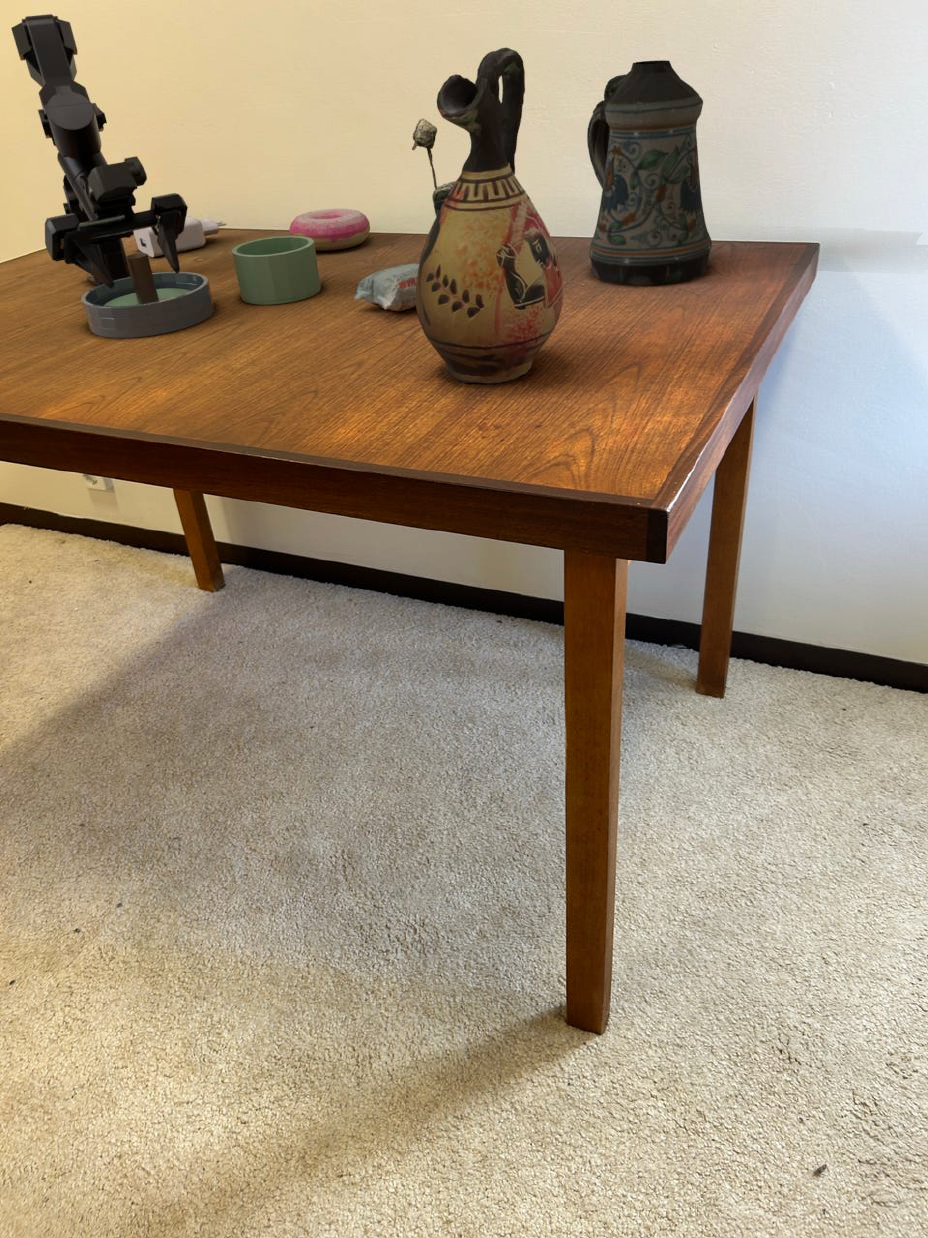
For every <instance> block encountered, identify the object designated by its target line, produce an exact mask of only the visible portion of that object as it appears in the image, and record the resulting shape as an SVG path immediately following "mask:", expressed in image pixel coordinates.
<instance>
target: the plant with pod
mask: <svg viewBox="0 0 928 1238" xmlns="http://www.w3.org/2000/svg"><path fill="white" fill-rule="evenodd" d="M437 133H438V128H437V126H435V125H433V124H432V122H430V121H429V120H427V119H425V118H420V119H418V122H417V123H416V126H415V129H414V131H413V133H412V140H413V141H414V142H413V146H412V148H411V150H412V151H415V150H416V149H417V147H419V148H424V149H426V151H427V156H428V160H429V165H430V167H431V172H432V179H433V185H434V190H433V192H432V195H431V197H432V202H433V208H434V214H435V218H436V217H437V215H438V213H439V211H440V208H441V206H442V205H443V203H444V201H445V199H446V198H447V196H448V194H449V192H450V190H451V188H452V187H453V185H454V184H455V182H456V180H454V181H450V182H447V183H443V184H441V185H440V186H438V185H437V177H436V171H435V168H434V164H433V153H432V149H434V146H435V142H436V137H437Z"/></svg>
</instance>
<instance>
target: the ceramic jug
mask: <svg viewBox="0 0 928 1238" xmlns="http://www.w3.org/2000/svg"><path fill="white" fill-rule="evenodd" d="M478 65H479V66H478V67H477V70H476V71H477V74H476V79H475V82H473V81H471V79H469V78H468V77H463V76H462V75H461V74H457V73H456V74H452V75H450V76H449V77H448V78H447V80H445V81H444V82H443V83H442V86H441V87H440V89H439V91H438V93H437V97H436V106H437V111H438V112H439V114H440V116H441V118H442V119H444V120H446V121H447V122H449V123H451V124H453V125H455V126H457V127H459V128H461V129H463V130H465V131H466V132H467V133H468V134H469V139H470V150H469V154H468V156H467V158H466V160H464V162H463V165H462V167H461V173H460V175H459V176H458V177H457V179H456V180H455V181H456V182H455V184H454V185H453V187H452V188H451V190H450V192H449V194H448V196H447V198H446V199H445V201H444V203H443V205H442V206H441V208H440V211H439V213H438V215H437V217H436V216H435V219H434V221H433V223H432V225H431V228H430V230H429V231H428V234H427V236H426V239H425V242H424V245H423V248H422V250H421V253H420V256H419V257H420V258H419V262H418V264H419V268H418V274H417V281H416V295H415V301H416V307H415V309H416V314H417V319H418V321H419V324H420V326H421V329H422V331H423V334H424V335H425V337H426V339H427V340H428V342H429V343H430V345H431V346H432V348H433V349H434V350H435V351H436V353H437V354H438V355H439V357H441V358H442V360H443V362H444V363H445V364H446V365H447V367H446V369H445V371H446V373H447V374H448V375H449V376H450V377H451V378H452V379H453V380H455V381H458V382H461V383H463V384H471V383H477V384H497V383H498V384H499V383H504V382H509V381H513V380H516V379H517V378H519V377H521V376H523V375H526V374H527V373H528V372H529V370H530V369H531V368H532V365H533V361H534V359H535V357H536V356H537V355H538V353H539V351H540V349H542V347H543V346H544V345H545V344H546V342H547V341H548V340H549V338H550V336H551V335H552V333H553V331H554V330H555V328H556V327H557V325H558V322H559V320H560V316H561V313H562V308H563V306H564V305H563V304H564V303H563V302H564V301H563V300H564V287H563V286H564V284H563V283H564V282H563V275H562V268H561V264H560V260H559V256H558V252H557V249H556V247H555V244H554V241H553V239H552V237H551V234H550V231H549V230H548V228H547V226H546V224H545V222H544V220H543V219H542V217H541V216H540V213H539V212H538V210H537V208H536V207H535V204H534V202H532V199H531V197H530V196H529V195H528V193H527V191H526V190H525V189H524V187H523V186H522V185H521V183H520V181H519V180H518V178H517V177H516V163H515V158H516V153H517V146H518V136H519V131H520V126H521V122H522V117H523V107H524V101H525V99H524V98H525V94H526V73H525V72H526V71H525V66H524V65H525V64H524V60H523V58H522V56H521V54H520V53H519V51H517V50H514V49H511V48H509V47H501V48H499V49H496V50H492V51H490V52H488V53H486V54H485V55H484V57H482V58H481V61H480V63H479V64H478ZM500 78H501V86H502V96H501V99H500Z"/></svg>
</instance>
